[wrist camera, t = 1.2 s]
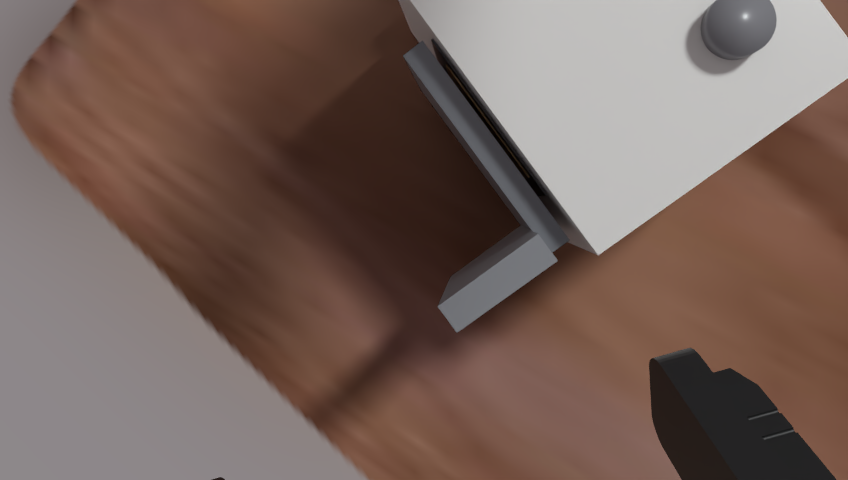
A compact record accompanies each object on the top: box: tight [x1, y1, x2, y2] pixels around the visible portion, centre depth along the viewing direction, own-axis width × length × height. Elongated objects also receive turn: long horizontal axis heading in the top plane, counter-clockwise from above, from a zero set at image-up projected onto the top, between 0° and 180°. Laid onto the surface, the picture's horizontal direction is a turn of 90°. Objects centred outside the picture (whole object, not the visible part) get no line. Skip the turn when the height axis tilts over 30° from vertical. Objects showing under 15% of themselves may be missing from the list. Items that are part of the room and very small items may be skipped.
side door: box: [403, 41, 569, 333], centre depth 30 cm, size 6×10×11 cm, turn 37°
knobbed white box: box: [398, 0, 848, 255], centre depth 30 cm, size 12×15×11 cm
